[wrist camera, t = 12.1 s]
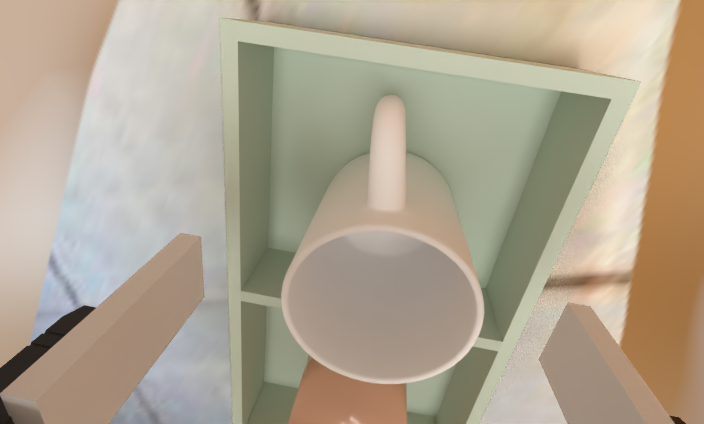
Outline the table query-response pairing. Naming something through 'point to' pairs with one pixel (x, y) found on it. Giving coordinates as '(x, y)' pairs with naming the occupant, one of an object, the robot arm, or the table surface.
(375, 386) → the peach rounded cylinder
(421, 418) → the caddy
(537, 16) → the table surface
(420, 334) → the mug
